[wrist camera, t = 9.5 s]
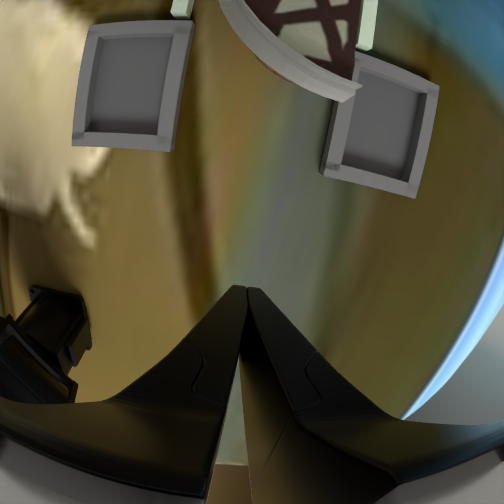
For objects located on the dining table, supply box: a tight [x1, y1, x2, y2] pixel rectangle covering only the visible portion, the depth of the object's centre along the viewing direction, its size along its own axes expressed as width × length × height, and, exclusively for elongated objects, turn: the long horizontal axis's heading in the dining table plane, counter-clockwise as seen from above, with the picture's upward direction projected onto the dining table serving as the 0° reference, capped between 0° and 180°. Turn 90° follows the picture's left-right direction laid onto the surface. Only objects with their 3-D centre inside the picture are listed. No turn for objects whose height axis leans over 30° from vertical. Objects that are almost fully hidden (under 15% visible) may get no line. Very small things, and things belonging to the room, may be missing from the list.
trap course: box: [72, 0, 440, 199], centre depth 14 cm, size 25×22×2 cm
